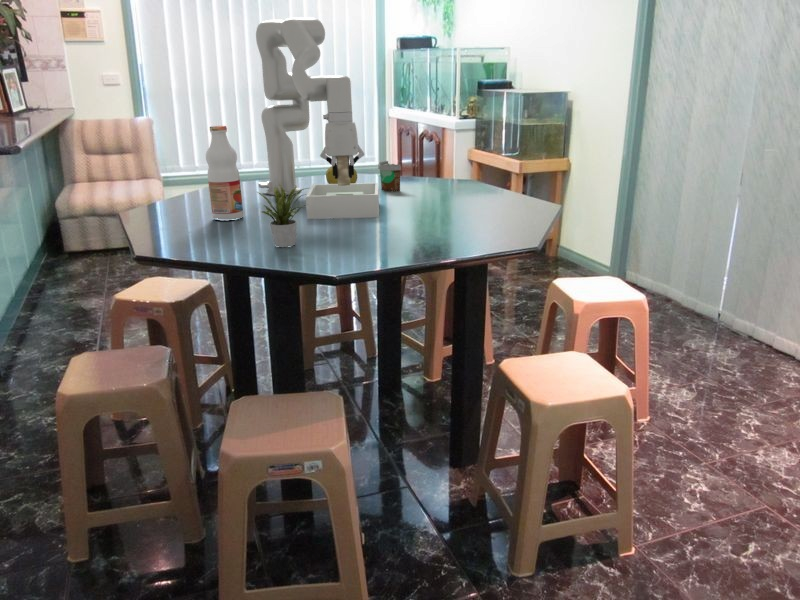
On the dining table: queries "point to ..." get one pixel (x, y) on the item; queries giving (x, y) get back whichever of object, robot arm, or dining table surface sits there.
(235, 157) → the fruit juice
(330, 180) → the fruit
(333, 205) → the box
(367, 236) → the dining table surface
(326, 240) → the dining table surface
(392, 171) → the food container
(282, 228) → the house plant
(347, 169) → the peg
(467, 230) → the dining table surface
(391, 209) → the dining table surface
